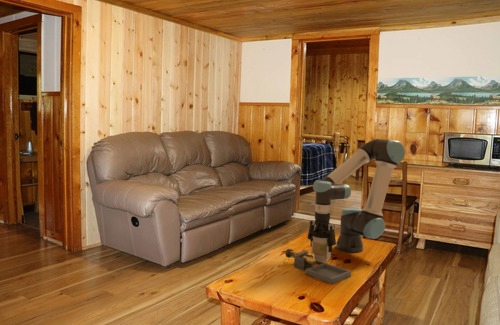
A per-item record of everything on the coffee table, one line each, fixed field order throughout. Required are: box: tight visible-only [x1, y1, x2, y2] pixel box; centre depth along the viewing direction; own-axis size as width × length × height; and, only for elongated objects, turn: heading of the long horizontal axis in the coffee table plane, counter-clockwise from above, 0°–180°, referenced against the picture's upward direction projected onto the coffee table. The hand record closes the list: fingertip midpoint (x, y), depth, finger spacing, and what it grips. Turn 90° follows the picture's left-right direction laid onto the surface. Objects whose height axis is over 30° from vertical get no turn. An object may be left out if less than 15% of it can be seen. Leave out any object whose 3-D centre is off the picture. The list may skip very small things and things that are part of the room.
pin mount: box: [293, 249, 314, 272], centre depth 200 cm, size 7×6×7 cm
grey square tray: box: [304, 262, 352, 285], centre depth 191 cm, size 15×15×2 cm
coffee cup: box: [312, 230, 330, 263], centre depth 207 cm, size 10×10×15 cm
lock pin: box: [284, 248, 317, 266], centre depth 201 cm, size 4×16×4 cm, turn 44°
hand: (320, 255), depth 207 cm, fingers closed on coffee cup, 9 cm apart
